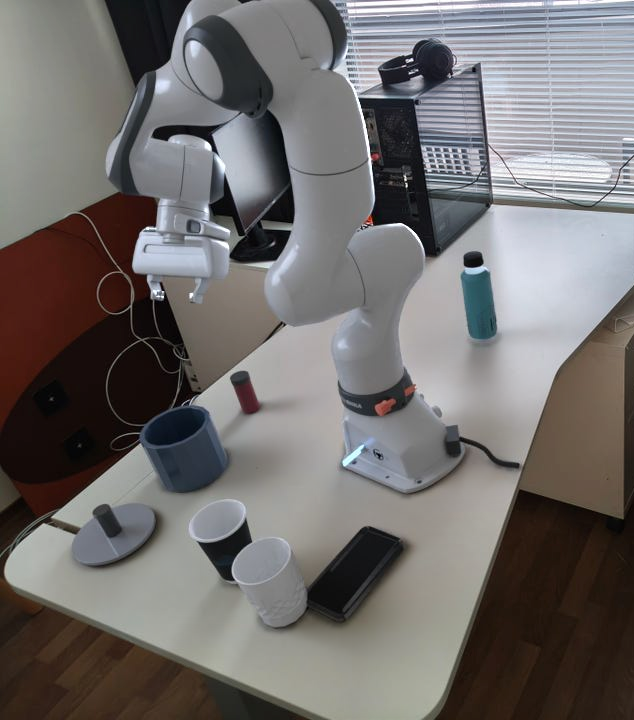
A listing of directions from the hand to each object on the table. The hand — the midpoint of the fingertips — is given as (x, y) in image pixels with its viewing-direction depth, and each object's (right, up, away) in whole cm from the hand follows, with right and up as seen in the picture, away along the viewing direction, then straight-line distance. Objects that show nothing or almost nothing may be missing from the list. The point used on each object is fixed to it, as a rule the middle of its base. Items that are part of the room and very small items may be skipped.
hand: (176, 301), depth 128 cm
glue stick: (+11, -20, +10) cm, 25 cm away
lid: (-3, -39, -16) cm, 42 cm away
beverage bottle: (+57, -6, +23) cm, 62 cm away
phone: (+38, -42, -28) cm, 63 cm away
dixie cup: (+21, -42, -25) cm, 53 cm away
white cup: (+29, -45, -31) cm, 62 cm away
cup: (+5, -30, -4) cm, 31 cm away
